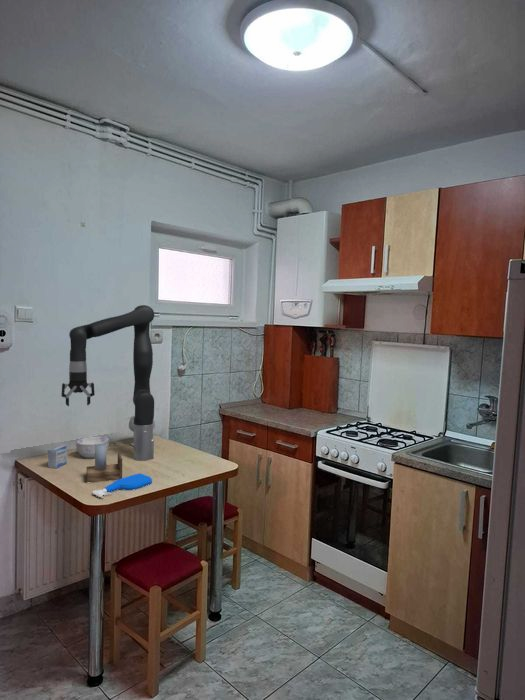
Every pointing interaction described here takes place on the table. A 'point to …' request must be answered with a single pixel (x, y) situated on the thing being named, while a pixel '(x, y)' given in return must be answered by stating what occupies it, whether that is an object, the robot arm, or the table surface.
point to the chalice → (131, 426)
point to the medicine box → (57, 456)
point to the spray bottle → (125, 484)
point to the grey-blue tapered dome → (100, 457)
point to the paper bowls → (90, 445)
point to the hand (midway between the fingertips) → (78, 405)
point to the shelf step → (105, 472)
